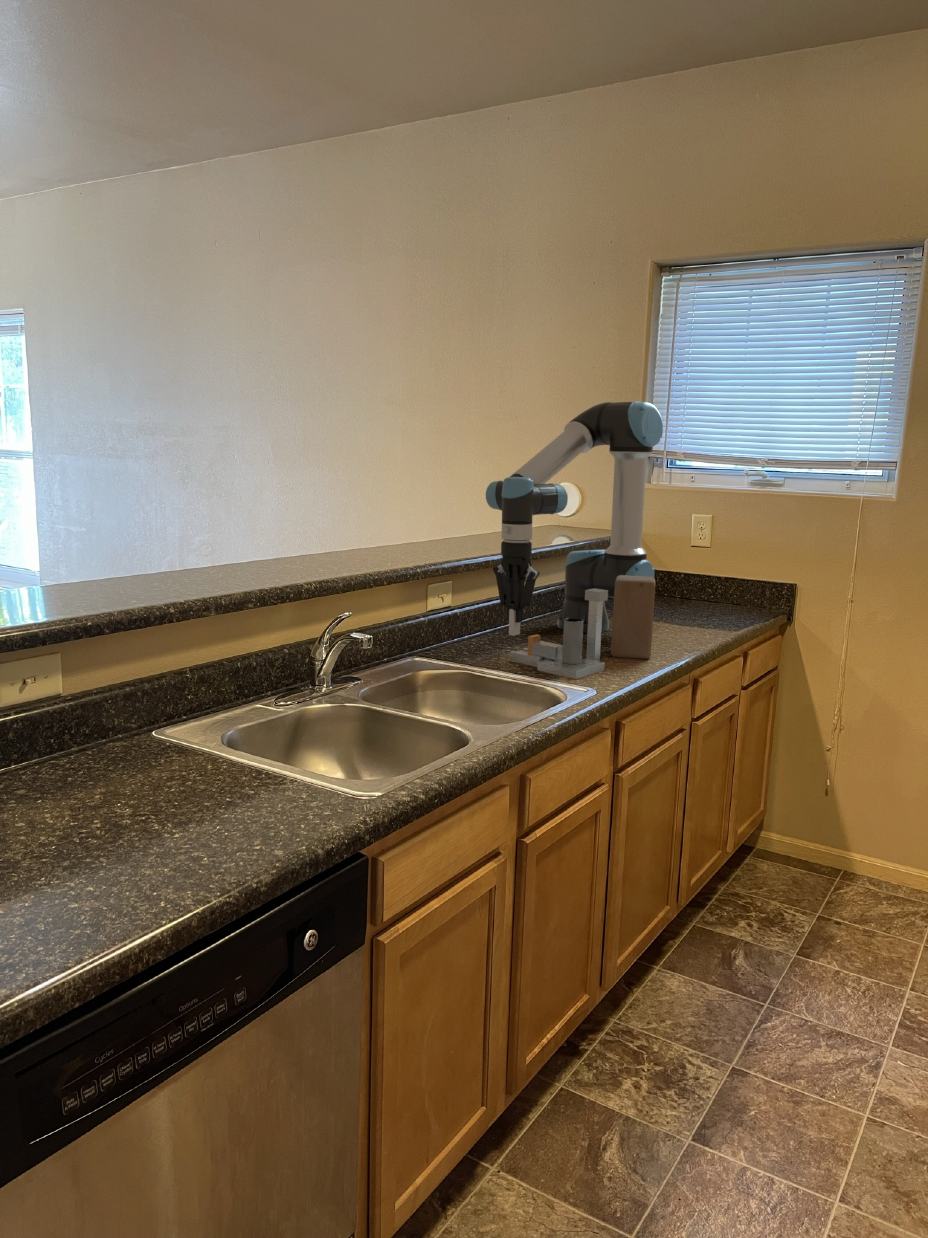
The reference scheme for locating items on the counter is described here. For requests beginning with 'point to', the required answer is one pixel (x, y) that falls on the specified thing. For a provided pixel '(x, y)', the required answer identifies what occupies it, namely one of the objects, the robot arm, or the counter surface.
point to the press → (593, 645)
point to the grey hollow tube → (572, 641)
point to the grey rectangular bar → (544, 648)
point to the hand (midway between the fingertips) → (514, 634)
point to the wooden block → (633, 616)
